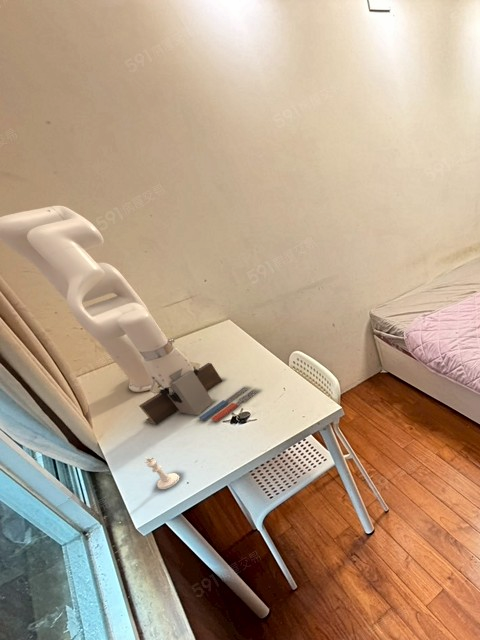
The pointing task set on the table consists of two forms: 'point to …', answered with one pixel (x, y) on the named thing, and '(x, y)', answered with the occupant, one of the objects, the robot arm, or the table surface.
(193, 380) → the perfume bottle
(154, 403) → the shelf
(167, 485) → the chess piece
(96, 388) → the table surface
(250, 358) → the table surface
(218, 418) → the fork
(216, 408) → the knife
